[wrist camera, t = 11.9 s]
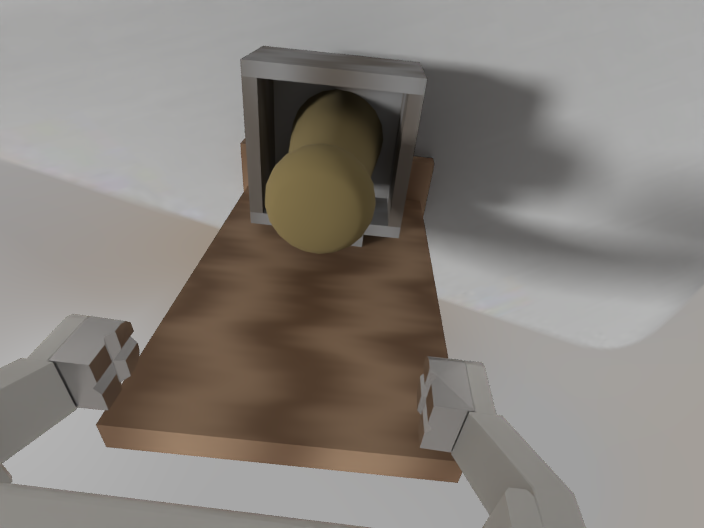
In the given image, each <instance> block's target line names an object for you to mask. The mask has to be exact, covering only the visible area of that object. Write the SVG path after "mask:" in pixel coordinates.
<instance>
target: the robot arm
mask: <svg viewBox="0 0 704 528" xmlns="http://www.w3.org/2000/svg"><path fill="white" fill-rule="evenodd" d="M133 332H134V330H133V328H132V325H131V323H130V322H127V321H121V320H114V319H107V318H100V317H93V316H84V315H77V314H72V315H69V316H67V317H66V318H65V319H64V320H63V321H62V322H61V323H60V324H59V325H58V326H57V327H56V328H55V329H54V331H52V333H51V334H50V335H49V336H48V337H47V338H46V339H45V340H44V341H43V342H42V343H41V344H40V345H39V346H38V347H37V348H36V349H35V350H34V352H33V353H32V354H31V355H30V356H29V357H28V358H27V359H24V358H20V359H18V360H16V361H14V362H12V363H10V364H8V365H6V366H4V367H2V368H0V528H369V527H361V526H353V525H345V524H337V523H329V522H321V521H312V520H304V519H296V518H288V517H279V516H272V515H264V514H256V513H248V512H239V511H231V510H223V509H214V508H206V507H198V506H190V505H182V504H174V503H166V502H157V501H148V500H140V499H133V498H125V497H117V496H108V495H100V494H92V493H84V492H76V491H67V490H59V489H51V488H43V487H35V486H27V485H18V484H11V482H12V476H11V475H10V473H9V472H8V471H7V470H6V468H5V467H4V466H3V465H2V463H3V462H5V461H6V460H8V459H9V458H10V457H12V456H13V455H14V454H16V453H17V452H18V451H20V450H21V449H23V448H24V447H25V446H27V445H28V444H30V443H31V442H32V441H34V440H35V439H36V438H38V437H39V436H41V435H42V434H43V433H45V432H46V431H47V430H49V429H50V428H51V427H53V426H54V425H56V424H57V423H58V422H60V421H61V420H63V419H64V418H65V417H67V416H68V415H69V414H71V413H72V412H74V411H75V410H76V409H77V408H88V409H98V410H109V409H110V408H111V406H112V404H113V403H114V401H115V400H116V398H117V397H118V395H119V394H120V392H121V391H122V386H121V382H122V381H123V380H125V379H127V378H128V377H130V376H131V375H132V373H133V372H134V370H135V368H136V366H137V363H138V360H139V346H138V343H137V342H136V341H135V340H134V339H133V338H131V337H130V336H131V334H132V333H133ZM423 370H424V374H422V375H421V376H420V378H419V383H418V389H417V411H418V412H419V413H420V414H421V417H420V420H419V424H418V431H419V445H420V448H424V449H431V450H438V451H444V452H451V455H452V456H453V458H454V459H455V461H456V463H457V464H458V466H459V467H460V469H461V471H462V472H463V474H464V475H465V477H466V478H467V480H468V482H469V483H470V485H471V486H472V488H473V490H474V491H475V493H476V494H477V496H478V498H479V499H480V501H481V502H482V504H483V505H484V507H485V508H486V510H487V512H488V513H489V515H490V516H489V518H488V519H487V521H486V523H485V524H484V526H483V528H586V527H585V524H584V521H583V518H582V515H581V512H580V510H579V507H578V504H577V501H576V498H575V496H574V493H573V492H572V491H571V490H570V489H569V488H568V487H567V486H566V485H565V484H564V483H563V481H562V480H561V479H560V478H559V477H558V476H557V475H556V474H555V473H554V472H553V470H552V469H551V468H550V467H549V466H548V465H547V464H546V463H545V462H544V461H543V460H542V459H541V457H540V456H539V455H538V454H537V453H536V452H535V451H534V450H533V449H532V448H531V446H530V445H529V444H528V443H527V442H526V441H525V440H524V439H523V438H522V437H521V436H520V434H519V433H518V432H517V431H516V430H515V429H514V428H513V427H512V426H511V425H510V423H508V421H507V420H506V419H505V418H504V417H503V416H501V415H497V414H496V410H495V406H494V402H493V398H492V394H491V390H490V386H489V382H488V378H487V374H486V370H485V366H484V364H483V363H482V362H474V361H465V360H464V361H463V360H458V359H448V358H439V357H430V356H427V357H426V358H425V361H424V364H423ZM76 407H77V408H76Z"/></svg>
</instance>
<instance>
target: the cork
mask: <svg viewBox="0 0 704 528" xmlns="http://www.w3.org/2000/svg"><path fill="white" fill-rule="evenodd" d="M382 143H383V132H382V124H381V122H380V120H379V117H378V115H377V113H376V111H375V110H374V109H373V108H372V107H371V105H370V104H369V103H368V102H367V101H366V100H365V99H363V98H361V97H360V96H358V95H356V94H354V93H353V92H349V91H343V90H338V89H335V90H328V91H322V92H320V93H318V94H316V95H314V96H312V97H310V98H309V99H308V100H307V101H306V102H305V103H304V104H303V105H302V106H301V107H300V108H299V110H298V112H297V114H296V117H295V119H294V121H293V126H292V133H291V140H290V146H289V153H288V154H286V155H285V156H284V157H283V158H282V159H281V160H280V161H279V162H278V163H277V164H276V165H275V167H274V168H273V170H272V172H271V175H270V177H269V179H268V181H267V184H266V192H265V208H266V211H267V214H268V218H269V221H270V223H271V224H272V226H273V227H274V229H275V230H276V232H277V233H278V234H279V235H280V236H281V237H282V238H283V239H284V240H286V241H287V242H288V243H289V244H290V245H292V246H294V247H296V248H298V249H300V250H303V251H305V252H311V253H316V254H324V253H334V252H337V251H339V250H342V249H345V248H347V247H350V246H351V245H352V244H354V243H355V242H356V241H357V240H359V239H360V238H361V237H362V235H363V234H364V232H365V231H366V229H367V228H368V226H369V225H370V223H371V221H372V218H373V214H374V210H375V205H376V204H375V192H374V184H373V182H372V180H371V176H372V173H373V171H374V168H375V165H376V163H377V160H378V158H379V155H380V152H381V148H382Z"/></svg>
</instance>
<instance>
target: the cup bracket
mask: <svg viewBox="0 0 704 528" xmlns="http://www.w3.org/2000/svg"><path fill="white" fill-rule="evenodd" d="M240 61H241V77H242V92H243V108H244V124H245V139H244V140H243V141H242V142H241V143H240V144H241V158H242V172H243V186H244V193H243V194H242V196H241V197H240V199H239V200H238V202H237V204H236V205H235V207H234V208H233V210H232V211H231V213H230V215H229V216H228V218H227V219H226V221H225V222H224V224H223V226H222V227H221V229H220V230H219V232H218V234H217V235H216V237H215V238H214V240H213V242H212V243H211V245H210V246H209V248H208V249H207V251H206V253H205V254H204V256H203V257H202V259H201V260H200V262H199V264H198V265H197V267H196V268H195V270H194V271H193V273H192V274H191V276H190V278H189V279H188V281H187V282H186V284H185V286H184V287H183V289H182V290H181V292H180V293H179V295H178V297H177V298H176V300H175V301H174V303H173V304H172V306H171V307H170V309H169V311H168V312H167V314H166V315H165V317H164V318H163V320H162V322H161V323H160V325H159V326H158V328H157V329H156V331H155V333H154V334H153V336H152V338H151V339H150V341H149V342H148V344H147V345H146V347H145V348H144V350H143V352H142V353H141V355H140V356H139V360H138V363H137V366H136V368H135V370H134V372H133V373H132V375H131V376H130V377H128V378H127V379H125V380H124V381H123V383H122V385H121V386H122V391H121V392H120V394H119V395H118V397H117V398H116V400H115V401H114V403H113V404H112V406H111V408H110V409H109V410H105V411H104V413H103V415H102V416H101V418H100V419H99V421H98V422H97V424H96V426H97V428H98V430H99V432H100V434H101V437H102V438H103V441H104V443H105V445H106V447H112V448H122V449H131V450H142V451H152V452H161V453H171V454H180V455H191V456H201V457H210V458H220V459H230V460H240V461H249V462H259V463H269V464H279V465H288V466H298V467H309V468H319V469H328V470H338V471H347V472H358V473H367V474H377V475H386V476H396V477H406V478H417V479H426V480H435V481H446V482H455V483H458V481H459V478H460V476H461V474H462V471H461V469H460V467H459V466H458V464H457V463H456V461H455V459H454V458H453V456H452V455H451V452H444V451H438V450H431V449H424V448H420V445H419V431H418V424H419V420H420V417H421V414H420V413H419V412H418V411H417V389H418V383H419V378H420V376H421V375H422V374H424V370H423V364H424V361H425V358H426V357H427V356H430V357H439V358H448V354H447V348H446V343H445V338H444V332H443V326H442V320H441V315H440V309H439V304H438V298H437V292H436V287H435V281H434V276H433V270H432V264H431V259H430V253H429V248H428V242H427V236H426V231H425V225H424V219H423V215H424V211H425V206H426V201H427V196H428V192H429V187H430V182H431V177H432V173H433V168H434V161H433V158H426V157H416V156H414V150H415V145H416V139H417V133H418V128H419V122H420V117H421V111H422V105H423V100H424V94H425V89H426V83H427V77H426V75H425V73H424V71H423V69H422V67H421V64H420V62H411V61H402V60H392V59H383V58H373V57H364V56H354V55H345V54H336V53H326V52H317V51H307V50H298V49H288V48H279V47H269V46H262V47H260V48H259V49H257V50H255V51H254V52H252V53H250V54H249V55H247V56H245V57H243V58H242V59H240ZM335 89H338V90H343V91H349V92H353V93H354V94H356V95H358V96H360V97H361V98H363V99H365V100H366V101H367V102H368V103H369V104H370V105H371V107H372V108H373V109H374V110H375V111H376V113H377V115H378V117H379V120H380V122H381V124H382V132H383V143H382V148H381V152H380V155H379V158H378V160H377V163H376V165H375V168H374V171H373V173H372V176H371V180H372V182H373V184H374V192H375V204H376V205H375V210H374V214H373V218H372V221H371V223H370V225H369V226H368V228H367V229H366V231H365V232H364V234H363V235H362V237H361V238H360V239H359V240H357V241H356V242H355V243H354V244H352V245H351V246H350V247H347V248H345V249H342V250H339V251H337V252H334V253H324V254H316V253H311V252H305V251H303V250H300V249H298V248H296V247H294V246H292V245H290V244H289V243H288V242H287V241H286V240H284V239H283V238H282V237H281V236H280V235H279V234H278V233H277V232H276V230H275V229H274V227H273V226H272V224H271V223H270V221H269V218H268V214H267V211H266V208H265V192H266V184H267V181H268V179H269V177H270V175H271V172H272V170H273V168H274V167H275V165H276V164H277V163H278V162H279V161H280V160H281V159H282V158H283V157H284V156H285V155H286V154H288V153H289V146H290V140H291V133H292V126H293V121H294V119H295V117H296V114H297V112H298V110H299V108H300V107H301V106H302V105H303V104H304V103H305V102H306V101H307V100H308V99H309V98H310V97H312V96H314V95H316V94H318V93H320V92H322V91H328V90H335Z"/></svg>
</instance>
